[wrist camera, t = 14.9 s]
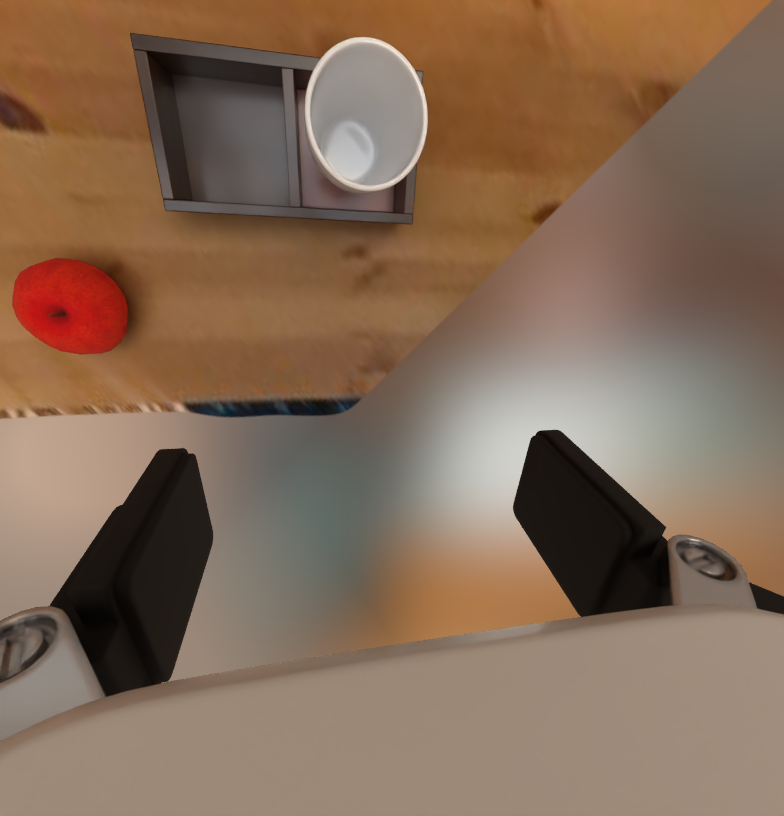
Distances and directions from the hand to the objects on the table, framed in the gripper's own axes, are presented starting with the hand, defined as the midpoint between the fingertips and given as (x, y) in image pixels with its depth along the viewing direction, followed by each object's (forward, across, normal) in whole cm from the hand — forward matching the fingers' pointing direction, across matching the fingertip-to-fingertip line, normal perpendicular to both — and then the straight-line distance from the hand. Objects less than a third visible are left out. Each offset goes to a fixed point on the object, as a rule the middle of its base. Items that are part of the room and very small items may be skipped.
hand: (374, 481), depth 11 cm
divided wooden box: (+32, +3, -11) cm, 34 cm away
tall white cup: (+32, -2, -11) cm, 33 cm away
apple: (+32, +22, +2) cm, 39 cm away
